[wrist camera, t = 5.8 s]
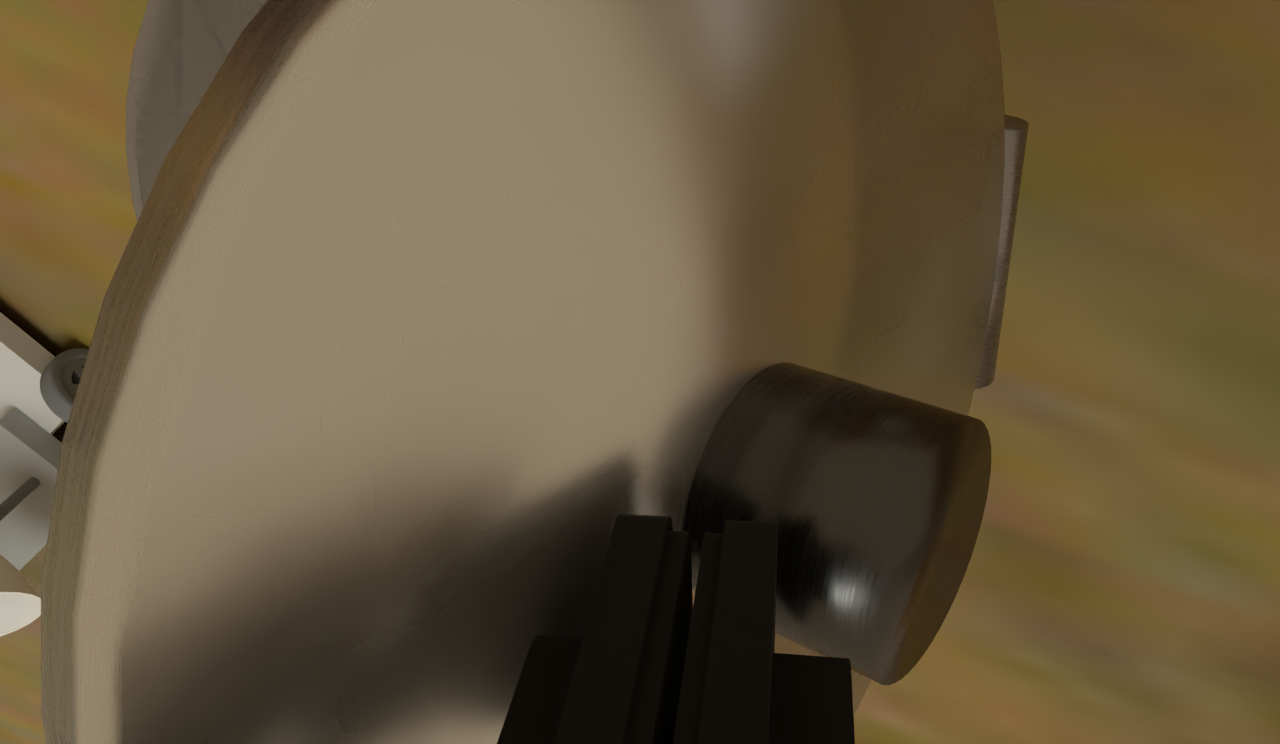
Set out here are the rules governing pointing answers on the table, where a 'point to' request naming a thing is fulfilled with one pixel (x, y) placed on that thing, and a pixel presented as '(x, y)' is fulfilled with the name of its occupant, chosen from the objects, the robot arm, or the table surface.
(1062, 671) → the table surface
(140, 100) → the pot
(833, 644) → the lid
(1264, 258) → the table surface
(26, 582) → the toy car
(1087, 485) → the table surface
